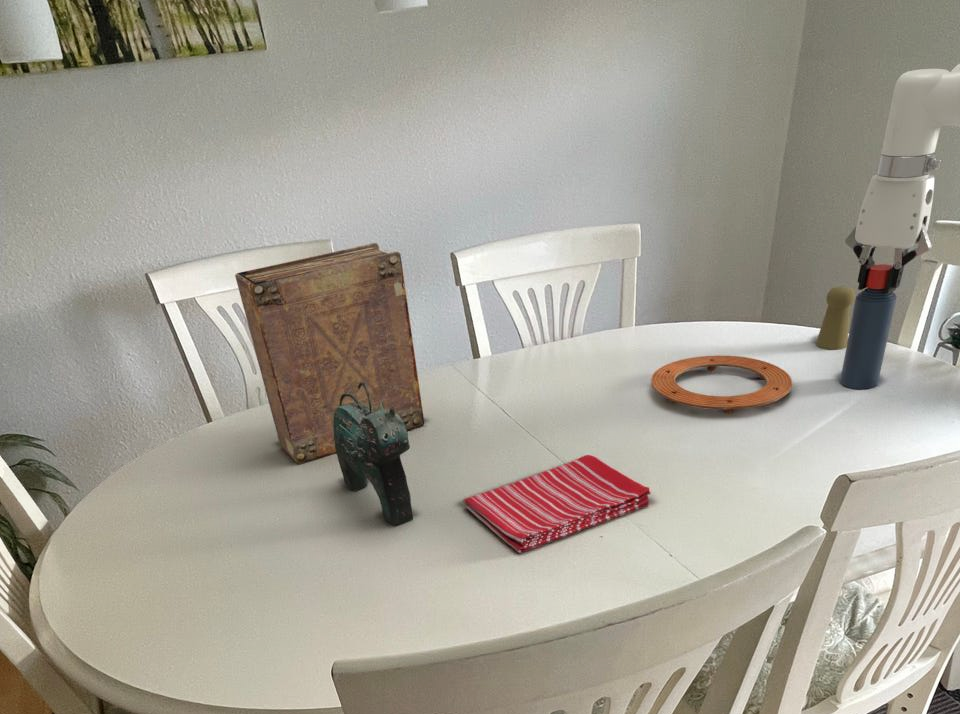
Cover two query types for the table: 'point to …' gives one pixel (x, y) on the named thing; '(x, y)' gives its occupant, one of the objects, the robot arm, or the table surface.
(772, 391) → the ring
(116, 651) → the table surface
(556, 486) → the dish towel
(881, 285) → the cap
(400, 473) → the dark green carved figure
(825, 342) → the olive pawn figure
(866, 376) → the bottle
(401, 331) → the book
